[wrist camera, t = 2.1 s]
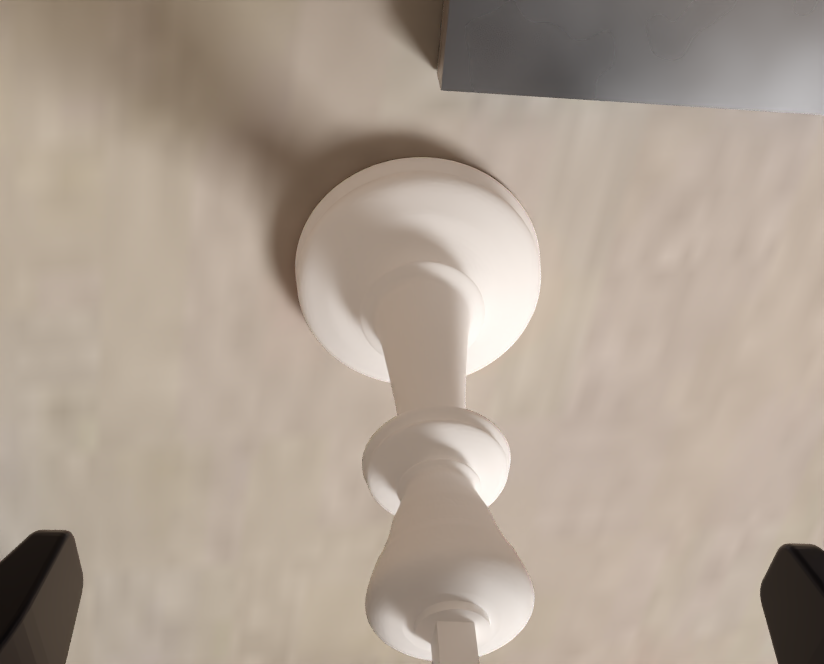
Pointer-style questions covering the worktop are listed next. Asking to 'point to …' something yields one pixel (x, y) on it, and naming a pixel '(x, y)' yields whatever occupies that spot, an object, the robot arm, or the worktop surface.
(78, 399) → the worktop surface
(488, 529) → the chess piece
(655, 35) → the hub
